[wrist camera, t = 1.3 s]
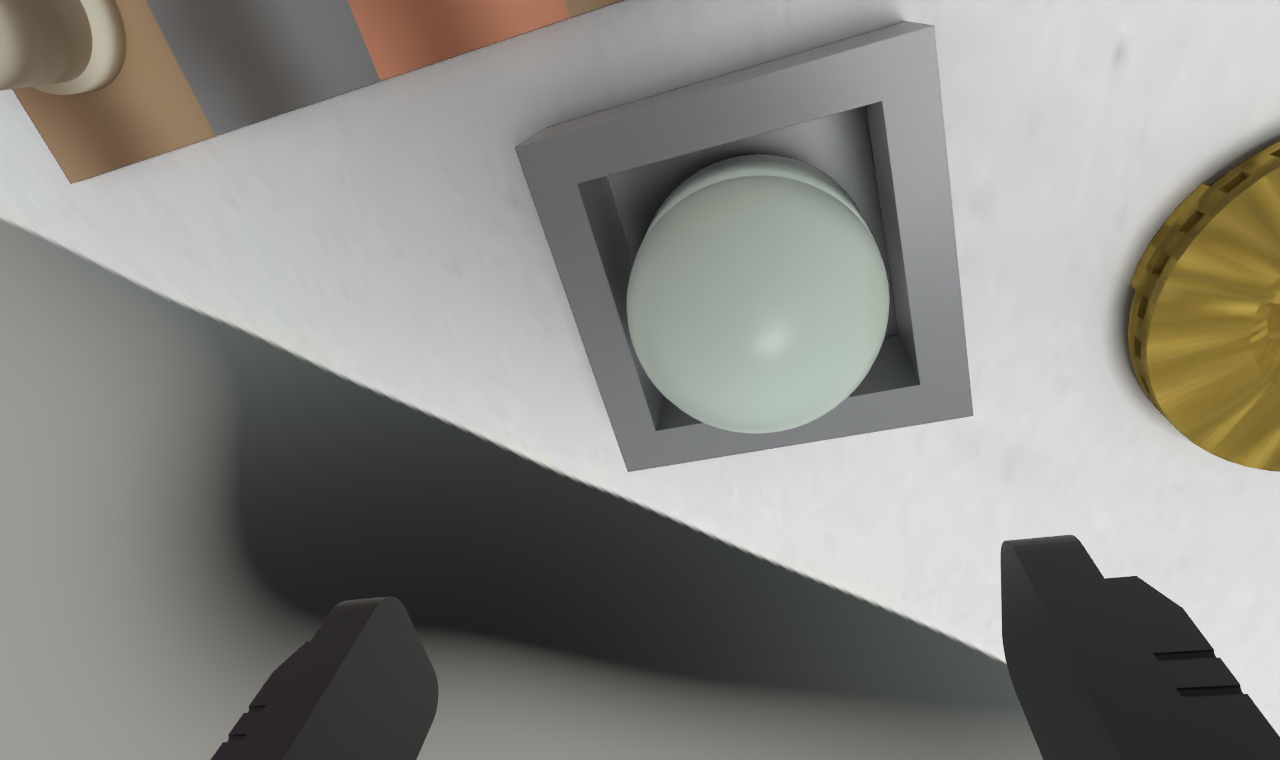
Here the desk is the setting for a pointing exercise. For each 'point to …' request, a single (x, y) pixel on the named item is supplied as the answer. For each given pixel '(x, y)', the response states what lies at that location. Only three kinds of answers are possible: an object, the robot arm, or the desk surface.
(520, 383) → the desk surface
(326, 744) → the robot arm
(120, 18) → the pawn
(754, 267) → the dome
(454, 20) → the track board
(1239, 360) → the brown flat disc
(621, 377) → the dome housing
